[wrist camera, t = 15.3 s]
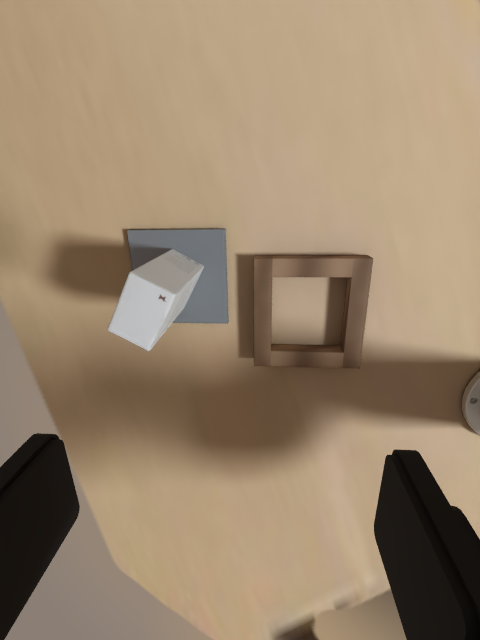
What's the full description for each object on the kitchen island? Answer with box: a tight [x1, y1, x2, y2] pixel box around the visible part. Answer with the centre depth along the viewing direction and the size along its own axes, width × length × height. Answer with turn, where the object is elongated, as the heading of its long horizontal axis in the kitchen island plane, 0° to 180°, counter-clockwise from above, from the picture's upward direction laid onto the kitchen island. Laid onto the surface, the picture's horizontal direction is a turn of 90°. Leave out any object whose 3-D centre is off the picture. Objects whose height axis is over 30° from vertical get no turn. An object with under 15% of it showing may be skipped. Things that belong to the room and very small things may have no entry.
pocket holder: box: [254, 255, 373, 368], centre depth 38 cm, size 12×13×2 cm
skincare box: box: [107, 249, 204, 351], centre depth 33 cm, size 6×4×12 cm
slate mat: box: [127, 229, 228, 324], centre depth 39 cm, size 11×11×1 cm
